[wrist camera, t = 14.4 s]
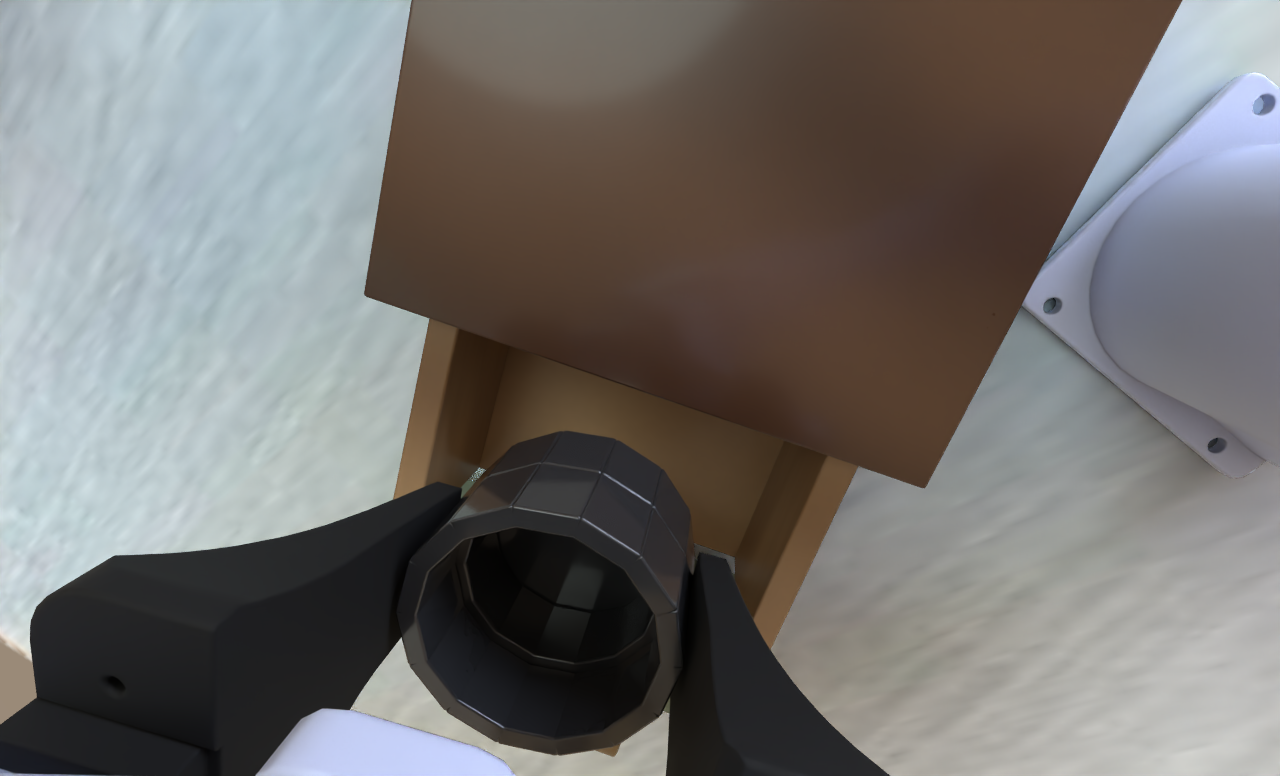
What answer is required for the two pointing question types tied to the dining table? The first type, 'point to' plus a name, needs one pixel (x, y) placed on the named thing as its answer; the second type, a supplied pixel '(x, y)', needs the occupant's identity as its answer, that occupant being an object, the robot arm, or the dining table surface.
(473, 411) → the drawer
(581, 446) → the cup
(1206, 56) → the dining table surface
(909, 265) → the cabinet
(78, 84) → the dining table surface
